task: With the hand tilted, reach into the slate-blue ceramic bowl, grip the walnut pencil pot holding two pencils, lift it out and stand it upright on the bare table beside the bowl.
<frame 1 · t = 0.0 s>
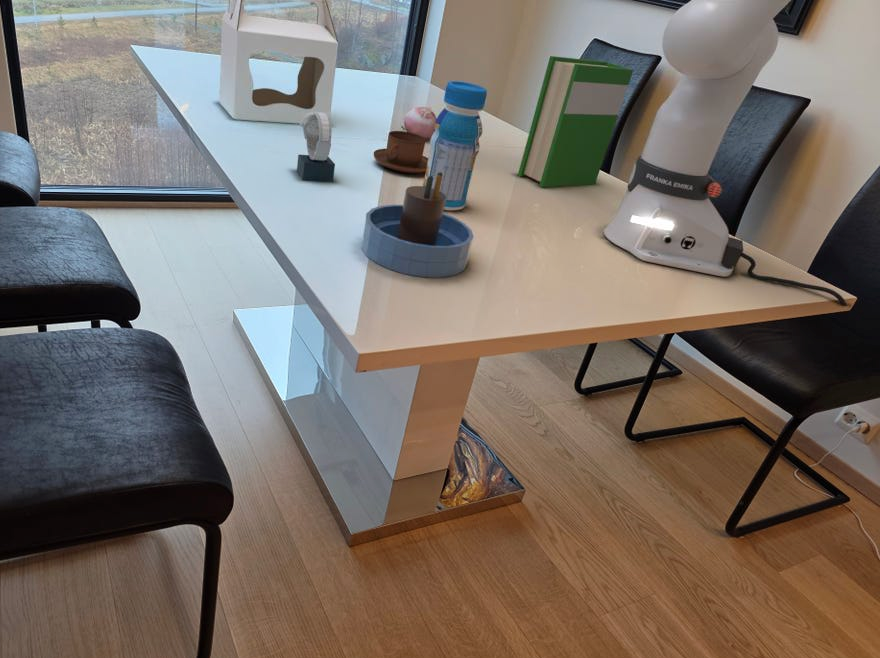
pencil pot: (414, 253, 96), point 1 cm above the table, touching bowl
watch: (314, 177, 119), on the table
beverage bottle: (442, 204, 119), on the table
bowl: (413, 257, 96), on the table
hardback book: (556, 180, 146), on the table
onion: (417, 138, 157), on the table
gable box: (274, 115, 151), on the table
cup and saucer: (401, 168, 133), on the table
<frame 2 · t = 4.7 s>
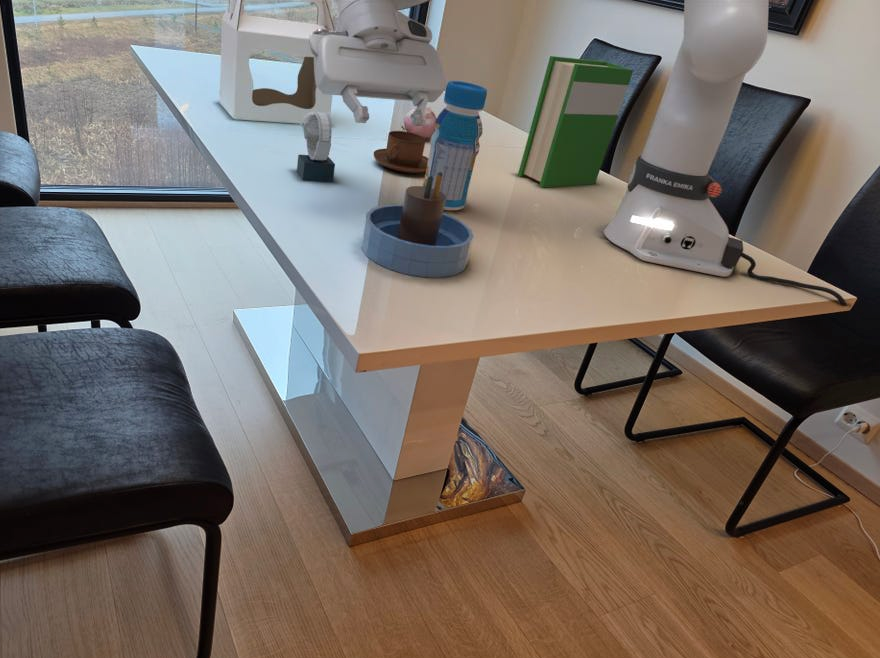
hand: (391, 122, 96), 16 cm above the table, tool tilted 45°, fingers open, 8 cm apart
nothing on the table moved.
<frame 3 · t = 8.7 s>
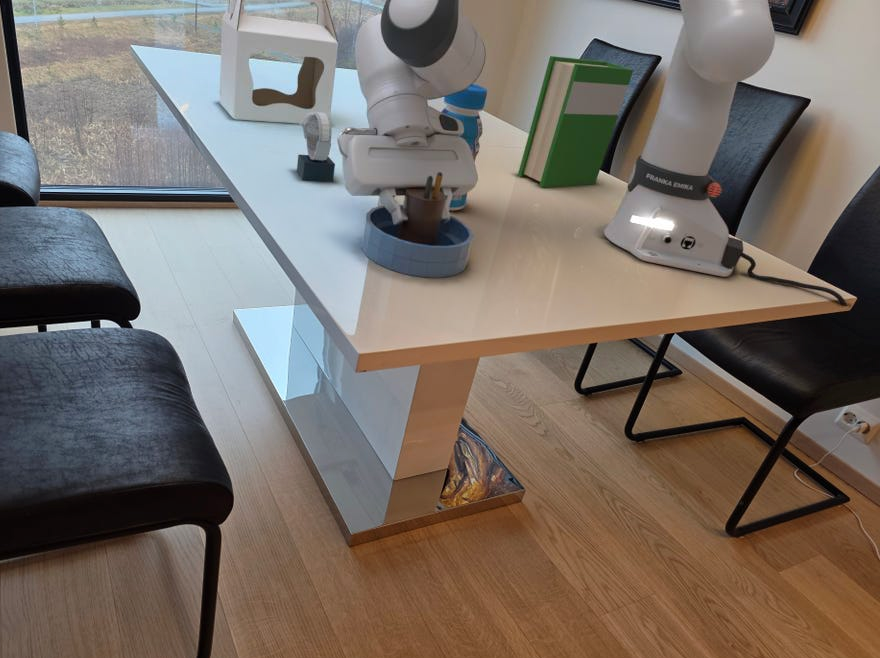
hand: (423, 222, 93), 6 cm above the table, tool tilted 45°, fingers closed on pencil pot, 5 cm apart
pencil pot: (414, 253, 96), point 1 cm above the table, touching bowl, gripper
everything else where it was.
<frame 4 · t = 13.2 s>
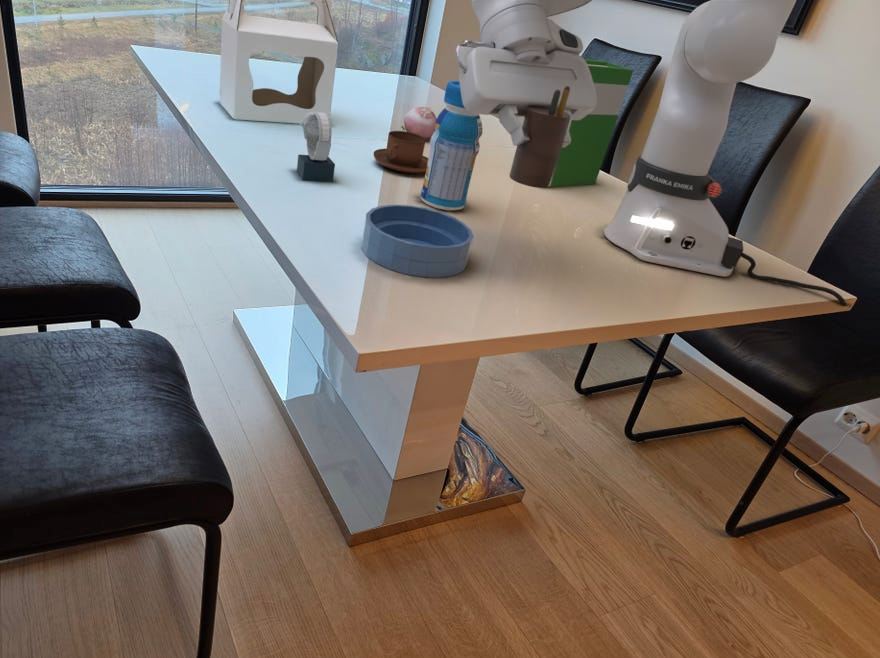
hand: (543, 144, 86), 19 cm above the table, tool tilted 45°, fingers closed on pencil pot, 5 cm apart
pencil pot: (529, 180, 89), point 14 cm above the table, touching gripper
everything else where it was.
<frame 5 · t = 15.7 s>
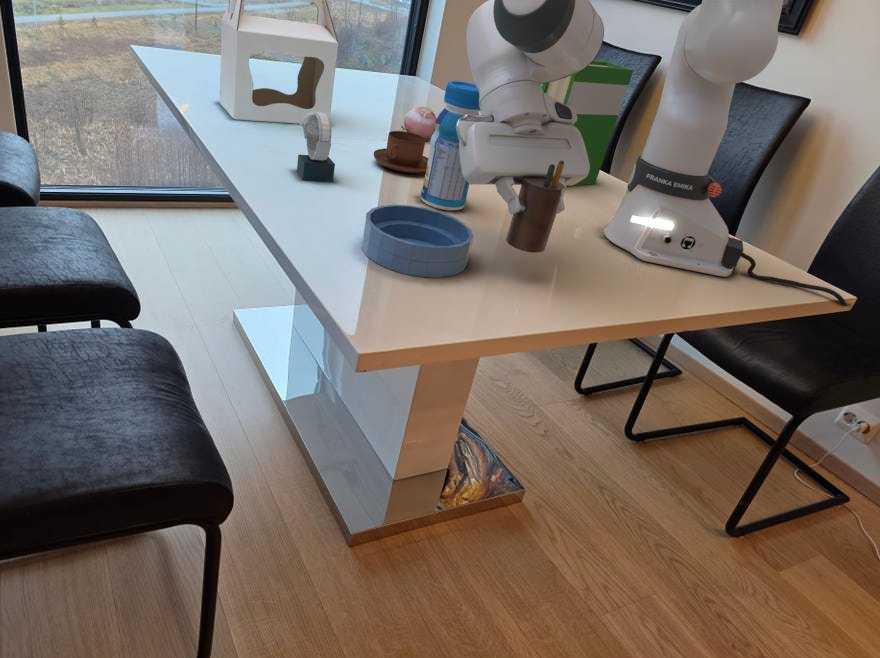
hand: (538, 212, 90), 10 cm above the table, tool tilted 45°, fingers closed on pencil pot, 5 cm apart
pencil pot: (525, 244, 93), point 5 cm above the table, touching gripper
everything else where it was.
when the fingers open (5 cm above the table, at t = 17.7 s): pencil pot stays where it is, on the table.
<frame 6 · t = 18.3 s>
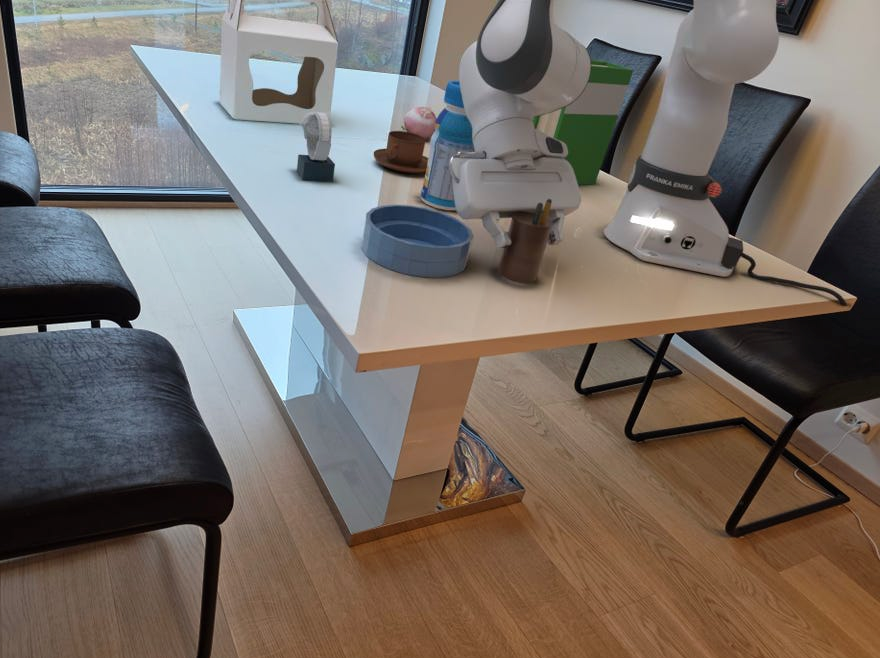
hand: (530, 245, 93), 5 cm above the table, tool tilted 45°, fingers open, 8 cm apart
pencil pot: (515, 277, 96), on the table
everything else where it was.
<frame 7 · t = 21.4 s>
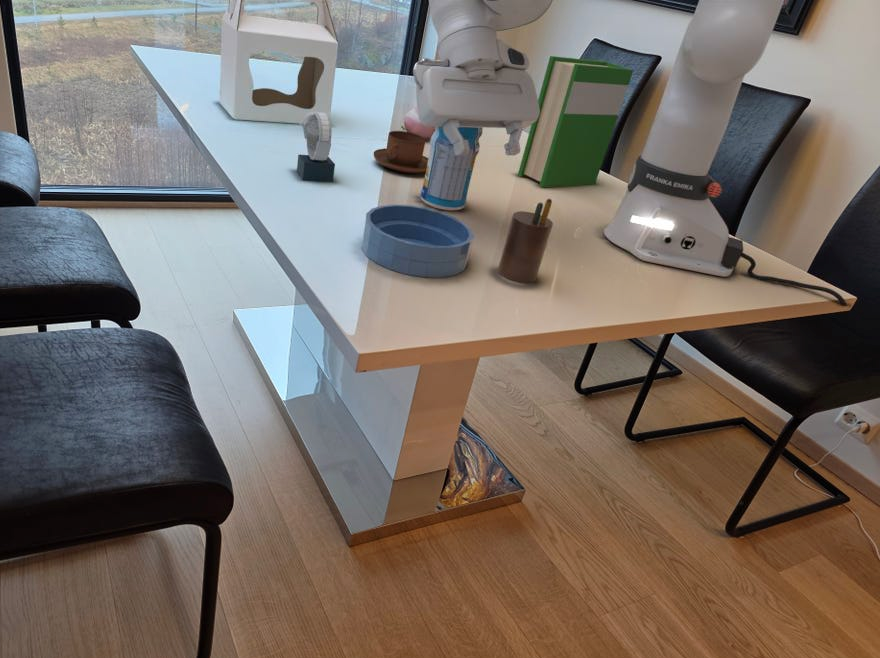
hand: (488, 154, 98), 14 cm above the table, tool tilted 40°, fingers open, 8 cm apart
nothing on the table moved.
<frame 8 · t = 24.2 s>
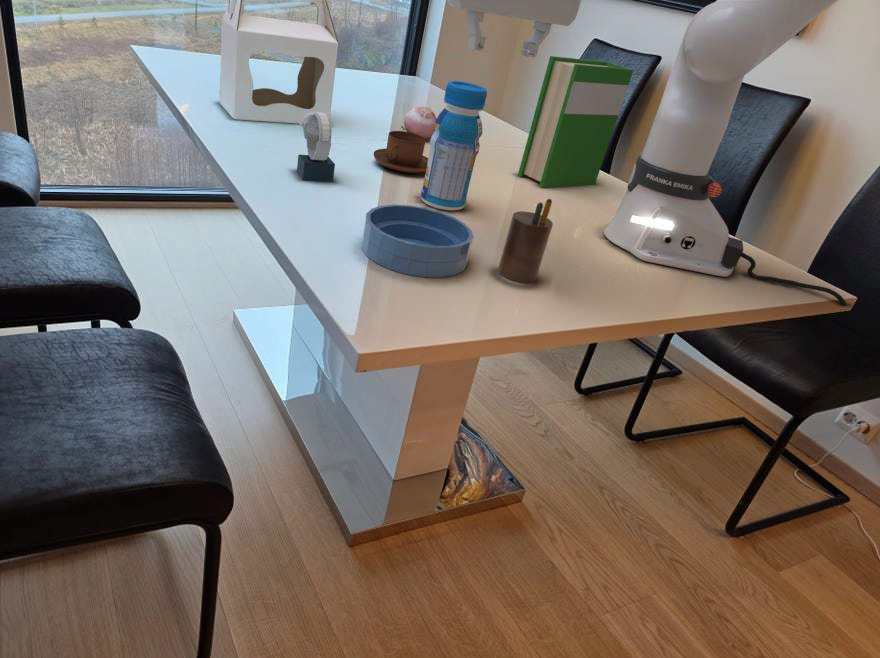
hand: (502, 53, 93), 27 cm above the table, tool pointing down, fingers open, 8 cm apart
nothing on the table moved.
at the end: pencil pot inside the target area (0.2 cm from its centre), on the table; pencil pot tilted 0°; pencil pot touching table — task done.
